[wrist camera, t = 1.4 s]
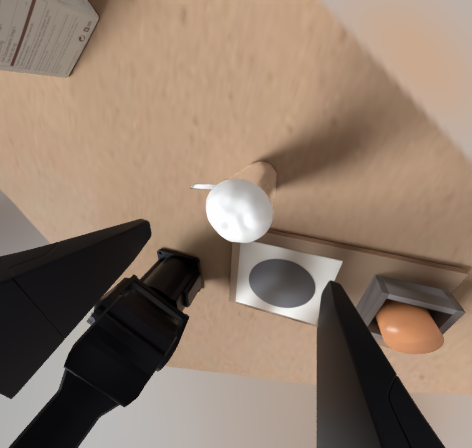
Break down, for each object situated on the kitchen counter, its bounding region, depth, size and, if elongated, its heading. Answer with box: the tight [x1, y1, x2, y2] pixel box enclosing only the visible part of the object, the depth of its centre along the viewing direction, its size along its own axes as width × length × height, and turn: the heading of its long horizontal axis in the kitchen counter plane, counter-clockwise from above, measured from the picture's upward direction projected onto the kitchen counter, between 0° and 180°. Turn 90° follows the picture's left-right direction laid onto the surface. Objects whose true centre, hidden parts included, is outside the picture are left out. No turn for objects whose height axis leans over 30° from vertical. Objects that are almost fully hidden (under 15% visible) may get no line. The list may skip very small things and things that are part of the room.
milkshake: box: [190, 161, 276, 243], centre depth 16 cm, size 4×5×10 cm
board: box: [229, 229, 469, 349], centre depth 23 cm, size 22×13×3 cm, turn 87°
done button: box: [375, 299, 444, 354], centre depth 19 cm, size 4×4×3 cm
